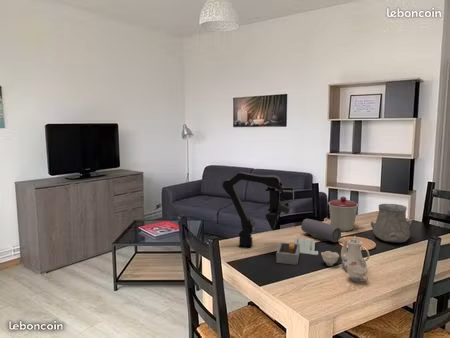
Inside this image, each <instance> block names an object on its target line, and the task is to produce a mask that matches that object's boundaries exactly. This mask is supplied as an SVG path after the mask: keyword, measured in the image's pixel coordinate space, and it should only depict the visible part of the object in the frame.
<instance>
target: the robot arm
mask: <svg viewBox="0 0 450 338" xmlns="http://www.w3.org/2000/svg"><path fill="white" fill-rule="evenodd" d="M241 180H242V181H247V182H254V183H260V184H263V185H265V186H267V188H265V189H264V191H266V192H268V201H267V202H268V203H267V204H268V208H267V209H268V210H267V212H266V213H265V219H266V221H267V222H268V224H269V227H270V229H271V231H274V230H275V226H277V224H278V220H279V216H280V215H281V213H284V214H286V215H289V212H290V209H291V206H290V204H289V202H285V203H282V201H281V200H280V199H282V200H285V201H295V191H294V189H295V188H294V187H293V186H288V187H286V186H284V184H283V183H282V182H281V177H279V176H278V175H275V174H273V175H272V174H269V175H263V174H262V175H261V174H257V173H256V174H255V173H250V172H244V171H239V172H237V174H235V175H234V176H233V177H232V178H228V179H226V180H225V181H223V183H222V188H223V190H224V191H225V192H226V194H227V195H228V196H229V197H230V199H231V201H232V203H233V206H234V208H235V210H236V212H237V214H238V217H239V219H240V227H241V230H240V231H239V232H238V237H239V238H238V239H239V240H238V241H239V245H238V248H246V249H251V248H252V245H253V237H252V233H253V232H254V230H255V229H256V223H255V221H254V218H253V217H250V216H249V215H248V213H247V210H246V209H245V206H244V205H243V201H242V200H241V198H240V195H239V192H238V187H237V186H238V185H237V184H238V182H240V181H241Z"/></svg>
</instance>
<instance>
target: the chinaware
mask: <svg viewBox="0 0 450 338" xmlns="http://www.w3.org/2000/svg"><path fill="white" fill-rule="evenodd" d="M342 239H343V245H342V247H341V251H340V254H339V253H338V252H336V251H333V252H332V251H331V250H326V251H321V252H320V255H321V258H322V260H323V262H324V263H325V264H326V266H328V267H333V266H334V265H335V264H337V262H338V259H339V258H341V261H340V262H341V265H342V267H343V270H345V271H346V272H347V274H348V276H349V277H350V279H351V280H352V282H357V283H358V282H368V281H369V280H368V279H369V276H368V275H367V274H366V273H367V271H368V268H367V266H368V265H367V263H366V262H367V261H368V260H369V259H370V252H369V250H368V248H366V247H365V246H363V245H362V244H363V241H361V240H359V239H358V238H357V237H356V235H354V236H353V237H352V238H351V239H348V240H347V238H346V237H345V236H344V237H342ZM363 250H365V252H366V253H367V257H366V258H365V259H364V258H363V254H362V251H363ZM364 277H366V280H364V279H363V278H364Z"/></svg>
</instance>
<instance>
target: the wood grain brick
mask: <svg viewBox="0 0 450 338" xmlns="http://www.w3.org/2000/svg"><path fill="white" fill-rule="evenodd" d="M289 243H290V244H289V253H290V254H295V243H294V241H293V242H289ZM283 253H288V252H283Z"/></svg>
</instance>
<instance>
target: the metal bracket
mask: <svg viewBox="0 0 450 338" xmlns="http://www.w3.org/2000/svg"><path fill="white" fill-rule="evenodd" d="M293 243H295V244H300V254H306V255H313V256H318V255H319V251H318V250H315V248H316V247H315V245H316V241H315V240H314V239H306V238H304V239H303V238H302V239H301V238H299V237H297V238H294V241H293Z"/></svg>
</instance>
